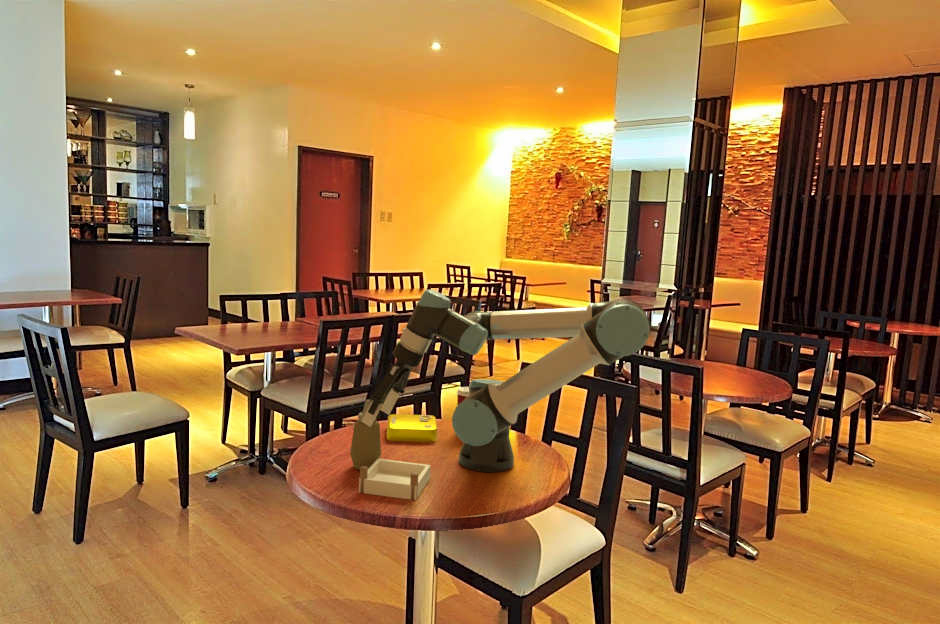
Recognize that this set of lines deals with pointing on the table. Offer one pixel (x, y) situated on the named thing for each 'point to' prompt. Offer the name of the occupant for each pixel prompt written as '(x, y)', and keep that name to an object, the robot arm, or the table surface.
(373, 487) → the tray
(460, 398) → the paper cup
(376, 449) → the squeeze bottle
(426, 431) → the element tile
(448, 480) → the table surface
